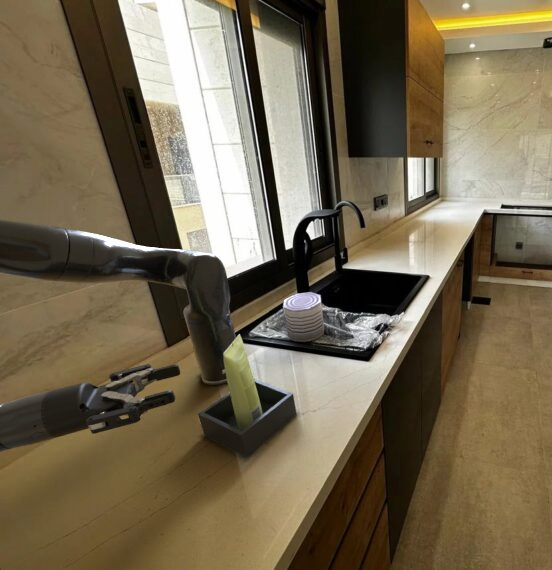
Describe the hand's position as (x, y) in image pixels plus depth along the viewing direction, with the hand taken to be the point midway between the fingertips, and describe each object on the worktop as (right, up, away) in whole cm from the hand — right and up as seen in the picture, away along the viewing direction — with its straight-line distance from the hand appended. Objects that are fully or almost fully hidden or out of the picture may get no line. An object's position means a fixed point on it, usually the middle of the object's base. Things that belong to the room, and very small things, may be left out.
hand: (176, 381), depth 60 cm
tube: (+9, -12, +10) cm, 18 cm away
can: (+7, +2, +47) cm, 47 cm away
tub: (+8, -12, +10) cm, 18 cm away
